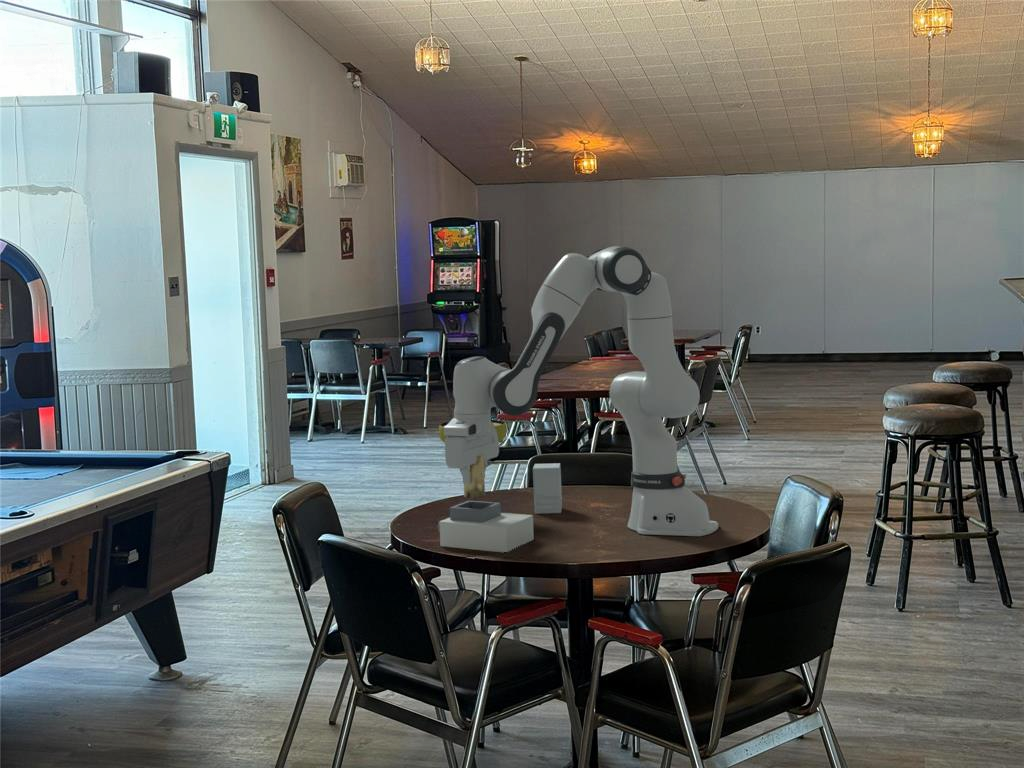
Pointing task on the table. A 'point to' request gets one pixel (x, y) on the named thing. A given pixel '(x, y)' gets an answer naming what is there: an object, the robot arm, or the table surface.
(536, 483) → the supplement box
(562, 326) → the robot arm
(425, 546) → the table surface
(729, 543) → the table surface
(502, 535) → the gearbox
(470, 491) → the spout can
